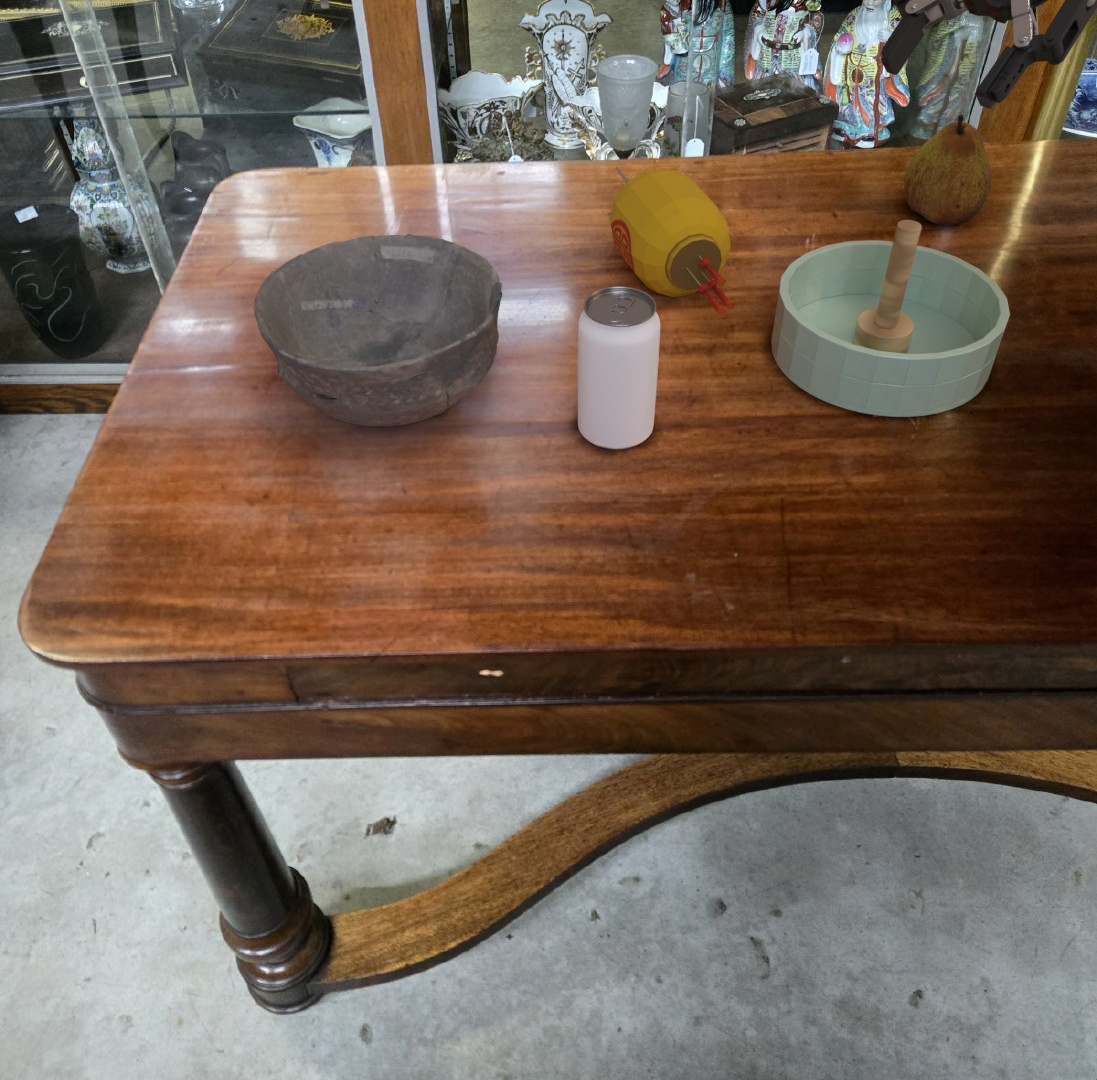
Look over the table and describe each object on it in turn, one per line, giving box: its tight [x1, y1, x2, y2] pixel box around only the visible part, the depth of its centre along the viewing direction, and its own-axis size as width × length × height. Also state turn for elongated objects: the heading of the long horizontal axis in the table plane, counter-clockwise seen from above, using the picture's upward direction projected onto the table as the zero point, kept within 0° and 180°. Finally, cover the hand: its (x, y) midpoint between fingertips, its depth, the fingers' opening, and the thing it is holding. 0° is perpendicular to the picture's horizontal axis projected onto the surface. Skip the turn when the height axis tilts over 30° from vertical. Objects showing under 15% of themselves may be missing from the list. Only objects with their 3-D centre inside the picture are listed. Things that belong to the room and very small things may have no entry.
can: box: [577, 286, 661, 451], centre depth 84 cm, size 6×6×12 cm
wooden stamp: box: [852, 219, 923, 354], centre depth 91 cm, size 5×5×12 cm
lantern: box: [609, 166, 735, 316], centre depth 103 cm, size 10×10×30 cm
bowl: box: [253, 233, 503, 427], centre depth 89 cm, size 21×21×10 cm
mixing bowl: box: [770, 239, 1011, 418], centre depth 94 cm, size 20×20×6 cm
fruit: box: [903, 114, 993, 227], centre depth 110 cm, size 9×9×12 cm
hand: (933, 84), depth 78 cm, fingers open, 8 cm apart
